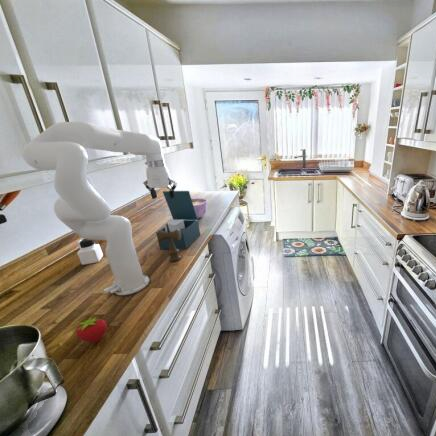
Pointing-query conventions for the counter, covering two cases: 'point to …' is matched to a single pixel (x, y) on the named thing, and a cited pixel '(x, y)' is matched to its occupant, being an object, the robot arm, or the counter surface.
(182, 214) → the dark teal box lid
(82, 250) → the medicine bottle
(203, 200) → the bowl of food
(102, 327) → the strawberry
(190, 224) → the teal rectangular box
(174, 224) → the white packaging box
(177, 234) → the kendama
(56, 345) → the counter surface
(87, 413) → the counter surface
